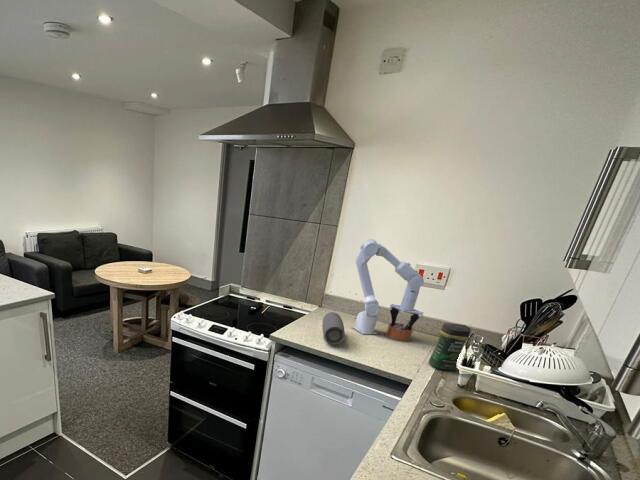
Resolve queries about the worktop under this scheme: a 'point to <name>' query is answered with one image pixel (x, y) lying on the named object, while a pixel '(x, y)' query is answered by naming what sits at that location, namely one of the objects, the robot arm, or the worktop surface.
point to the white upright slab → (402, 326)
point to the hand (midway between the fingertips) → (400, 326)
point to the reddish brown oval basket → (399, 333)
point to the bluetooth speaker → (333, 328)
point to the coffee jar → (449, 346)
